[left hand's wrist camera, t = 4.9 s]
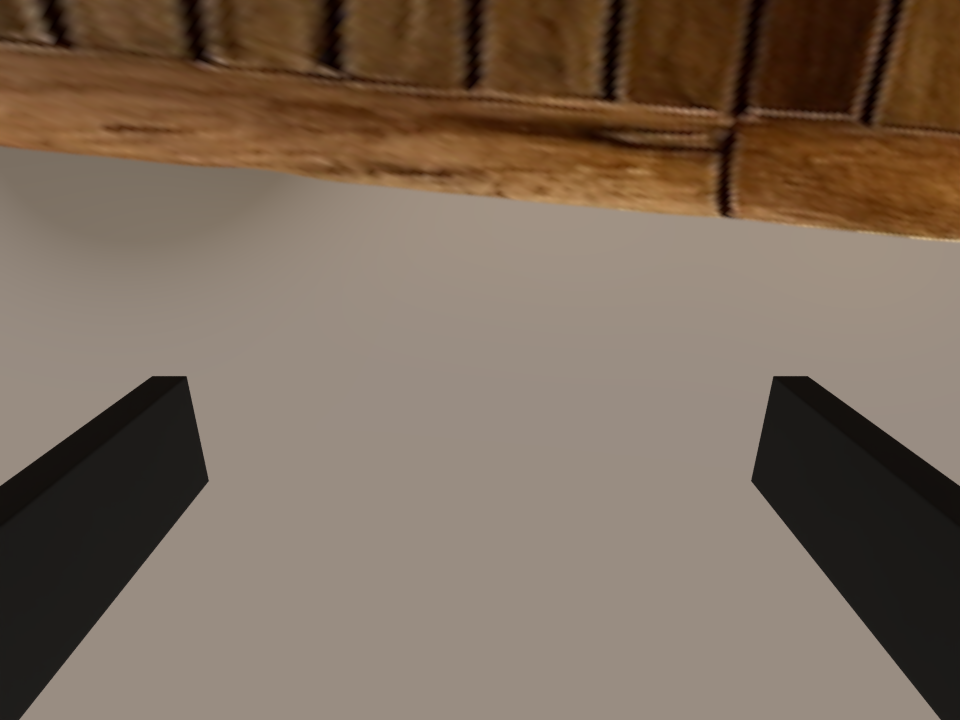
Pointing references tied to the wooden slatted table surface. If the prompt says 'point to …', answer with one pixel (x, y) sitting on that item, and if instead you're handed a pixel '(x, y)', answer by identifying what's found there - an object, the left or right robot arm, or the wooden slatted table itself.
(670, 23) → the wooden slatted table surface
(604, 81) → the wooden slatted table surface
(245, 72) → the wooden slatted table surface
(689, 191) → the wooden slatted table surface
